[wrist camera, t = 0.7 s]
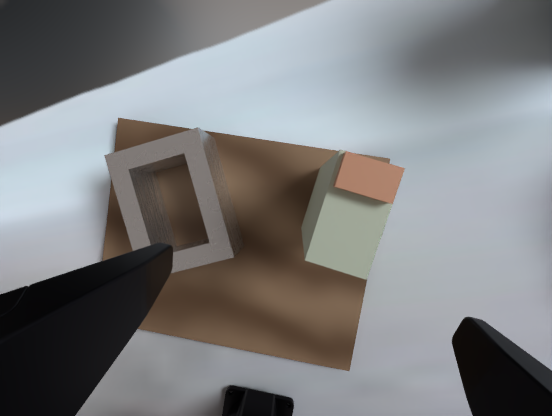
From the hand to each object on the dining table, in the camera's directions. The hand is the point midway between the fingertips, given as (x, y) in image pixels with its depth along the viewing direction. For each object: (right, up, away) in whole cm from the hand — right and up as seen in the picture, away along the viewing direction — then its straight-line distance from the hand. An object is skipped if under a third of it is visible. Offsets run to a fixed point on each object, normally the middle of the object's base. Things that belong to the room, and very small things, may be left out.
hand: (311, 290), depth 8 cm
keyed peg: (+3, +3, +15) cm, 16 cm away
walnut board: (-5, -1, +17) cm, 18 cm away
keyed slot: (-9, +3, +16) cm, 19 cm away
